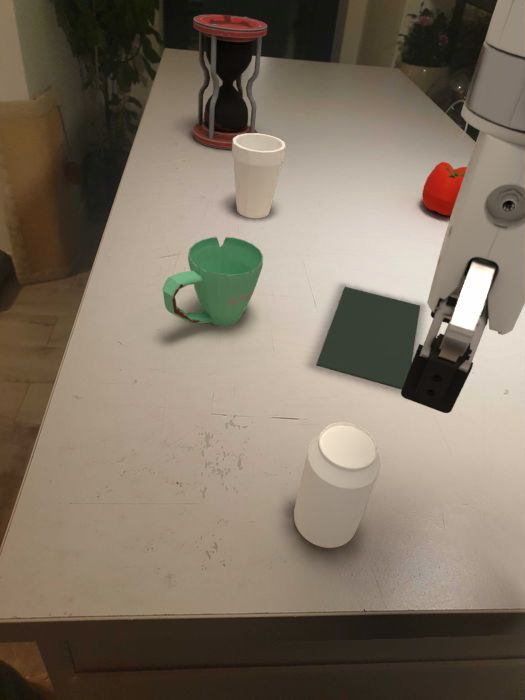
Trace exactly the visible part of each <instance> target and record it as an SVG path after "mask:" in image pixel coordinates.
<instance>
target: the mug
mask: <svg viewBox="0 0 525 700" xmlns="http://www.w3.org/2000/svg"><path fill="white" fill-rule="evenodd" d="M187 263H188V266H189V270H188V271H182V272H178V273H175V274H173V275H170V276H169V277H167V279H166V280H165V283H164V284H163V286H162V294H163V301H164V307H165V309H166V311H167V312H169V313H170V314H172V315H173V316H175V317H178V318H179V319H181V320H182V321H184V322H187V323H189V324H204V323H205V324H206V323H208V324H209V323H210V324H211V325H214V326H216V327H230V326H234V325H236V324H237V323H238V322H239V321H240V318H241V317H242V315H243V313H244V312H245V311H246V308H247V306H248V305H249V303H250V301H251V298H252V296H253V295H254V292H255V289H256V287H257V283H258V281H259V278H260V275H261V272H262V269H263V265H264V254H263V253H262V251H261V249H260V248H259V247H257V246H256V245H254V244H253V243H251V242H249V241H247V240H245V239H242V238H237V237H232V236H225V237H224V240H223V244H222V245H220V242H219V238H218V237H217V236H211V237H207V238H203V239H200V240H199V241H197V242H194V244H193V245H191V246H190V248H189V249H188V253H187ZM191 285H193V287H194V290H195V294H196V296H197V299H198V303H199V305H200V308H201V310H202V311H189V312H186V311H185V310H183V309H181V308H180V307H179V306H177V300H176V296H177V294H178V292H180V289H183V288H185V287H187V286H191Z"/></svg>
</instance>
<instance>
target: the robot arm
mask: <svg viewBox="0 0 525 700" xmlns="http://www.w3.org/2000/svg"><path fill="white" fill-rule="evenodd" d="M460 116H461V118H463V120H464V121H465V123H467V124H468V125H470V126H471V127H472V128H474V129H476V130H477V131H479V132H478V135H477V138H476V140H475V144H474V146H473V149H472V152H471V155H470V157H469V161H468V164H467V166H466V167H467V169H466V172H465V175H464V178H463V181H462V184H461V187H460V190H459V193H458V196H457V199H456V202H455V205H454V208H453V211H452V214H451V215H450V217H449V221H448V224H447V227H446V230H445V233H444V238H443V241H442V243H441V244H442V245H441V248H440V252H439V255H438V259H437V263H436V266H435V270H434V274H433V277H432V282H431V286H430V290H429V294H428V297H427V302H426V303H427V305H428V308H429V309H430V310H431V312H430V317H431V318H432V320H431V321H432V322H431V324H430V327H429V329H428V332H427V335H426V337H425V340H424V343H423V344H420V343H419V344H418V346H417V349H416V351H415V354H414V355H413V358H412V364H411V367H410V369H409V372H408V375H407V377H406V380H405V383H404V385H403V388H402V389H401V392H400V396H401V397H402V398H404V399H405V400H407V401H411V402H414V403H417V404H419V405H422V406H424V407H427V408H430V409H432V410H435V411H438V412H441V413H443V414H449V413H452V411H453V409H454V406H455V405H456V402H457V401H458V399H459V396H460V394H461V392H462V391H463V388H464V386H465V383H466V382H467V379H468V377H469V375H470V374H471V372H472V369H473V367H474V362H473V360H474V358H475V356H476V352H477V349H478V347H479V345H480V342H481V339H482V336H483V335H484V331H485V329H486V327H487V325H488V329H489V330H490V331H494V332H497V334H498V335H501V336H505V335H507V334H509V333H511V332H512V331H513V330H514V328H515V326H516V324H517V321H518V319H519V317H520V315H521V313H522V310H523V308H524V306H525V0H497V1H496V4H495V7H494V10H493V12H492V15H491V19H490V22H489V26H488V29H487V32H486V35H485V39H484V41H483V44H482V46H481V50H480V53H479V56H478V59H477V62H476V64H475V68H474V72H473V74H472V77H471V81H470V84H469V86H468V89H467V93H466V96H465V99H464V103H463V105H462V109H461V111H460ZM443 323H445V324H447V327H446V329H445V331H444V333H440V329H441V327H442V325H443Z"/></svg>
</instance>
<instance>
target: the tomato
mask: <svg viewBox="0 0 525 700" xmlns="http://www.w3.org/2000/svg"><path fill="white" fill-rule="evenodd" d="M466 169H467V166H460V167H458V168H453V166H452V165H451V164H450V163H449V162H445V161H441V162H439V163H438V164H437V165H435V167H434V168H433V169H432V170H431V172H430V173H429V174H428V176H427V178H426V180H425V183H424V185H423V189H422V194H421V196H422V203H423V204H424V206H425V208H426V209H428V210H429V211H432V212H437V213H438V214H439V215H442V216H446V217H447V216H448V217H449V216H450V217H451V214H452V211H453V208H454V205H455V202H456V199H457V196H458V193H459V190H460V187H461V184H462V181H463V178H464V175H465V172H466Z"/></svg>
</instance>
